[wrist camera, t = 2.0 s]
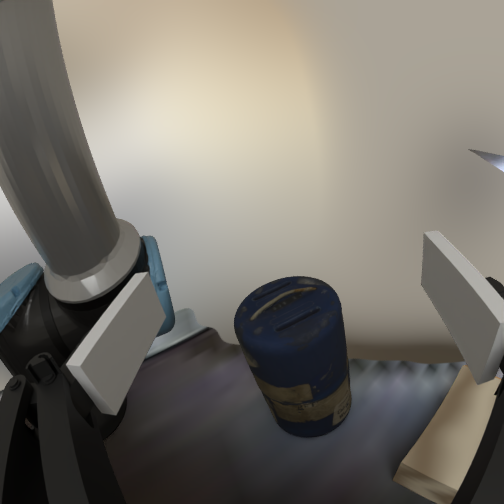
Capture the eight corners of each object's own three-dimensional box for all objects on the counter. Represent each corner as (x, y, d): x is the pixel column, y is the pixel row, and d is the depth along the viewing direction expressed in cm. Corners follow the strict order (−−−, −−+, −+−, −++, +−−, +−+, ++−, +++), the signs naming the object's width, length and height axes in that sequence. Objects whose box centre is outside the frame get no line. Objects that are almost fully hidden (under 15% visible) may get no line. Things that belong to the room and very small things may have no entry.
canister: (269, 390, 37) (222, 281, 29) (338, 368, 37) (317, 250, 29) (282, 451, 29) (227, 350, 21) (363, 425, 29) (356, 308, 21)
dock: (392, 480, 22) (401, 462, 20) (454, 389, 29) (464, 363, 27) (506, 532, 10) (531, 518, 8) (549, 426, 17) (568, 401, 15)
